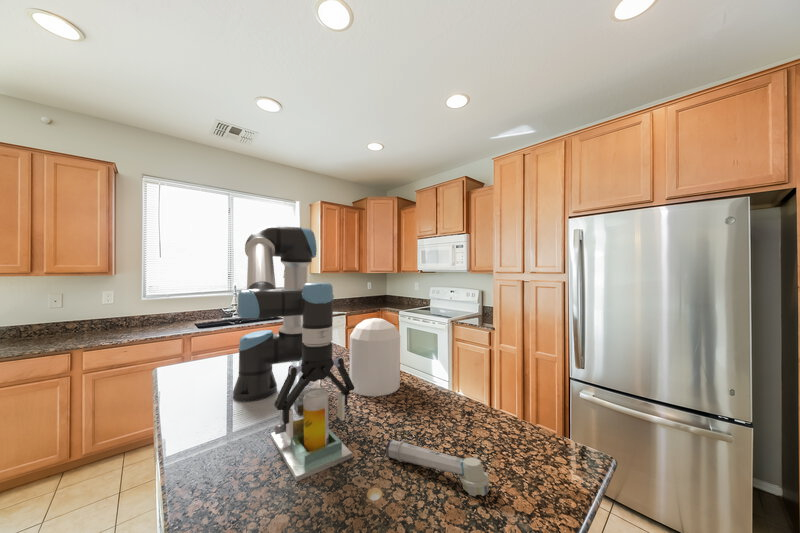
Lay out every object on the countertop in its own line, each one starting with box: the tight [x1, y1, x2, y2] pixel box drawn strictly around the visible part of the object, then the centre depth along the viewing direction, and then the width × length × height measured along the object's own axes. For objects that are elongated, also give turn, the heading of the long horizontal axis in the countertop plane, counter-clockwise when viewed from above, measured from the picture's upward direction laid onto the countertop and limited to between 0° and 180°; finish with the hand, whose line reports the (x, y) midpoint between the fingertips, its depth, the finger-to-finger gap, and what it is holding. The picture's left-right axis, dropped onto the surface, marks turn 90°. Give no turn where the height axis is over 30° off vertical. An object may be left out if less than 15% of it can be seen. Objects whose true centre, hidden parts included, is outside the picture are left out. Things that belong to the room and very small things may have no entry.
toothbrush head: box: [385, 439, 491, 497], centre depth 69 cm, size 5×7×25 cm
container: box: [348, 317, 401, 397], centre depth 121 cm, size 21×21×28 cm
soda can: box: [302, 387, 330, 452], centre depth 74 cm, size 6×6×15 cm
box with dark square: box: [270, 399, 353, 483], centre depth 78 cm, size 22×14×10 cm, turn 38°
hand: (316, 426), depth 74 cm, fingers open, 13 cm apart
